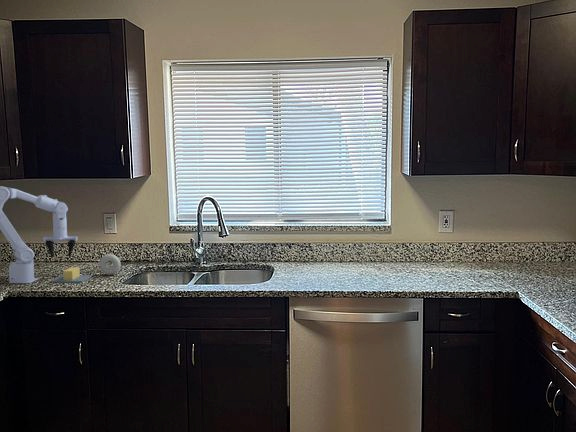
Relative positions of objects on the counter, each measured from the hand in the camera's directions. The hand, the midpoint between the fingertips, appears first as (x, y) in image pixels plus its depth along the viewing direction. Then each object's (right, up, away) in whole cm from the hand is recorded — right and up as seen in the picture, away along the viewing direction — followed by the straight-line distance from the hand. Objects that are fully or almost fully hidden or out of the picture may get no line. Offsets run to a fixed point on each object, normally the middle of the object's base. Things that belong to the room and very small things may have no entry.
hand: (61, 256), depth 237 cm
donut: (+21, -9, +5) cm, 23 cm away
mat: (+7, -10, -5) cm, 13 cm away
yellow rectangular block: (+7, -9, -5) cm, 13 cm away
